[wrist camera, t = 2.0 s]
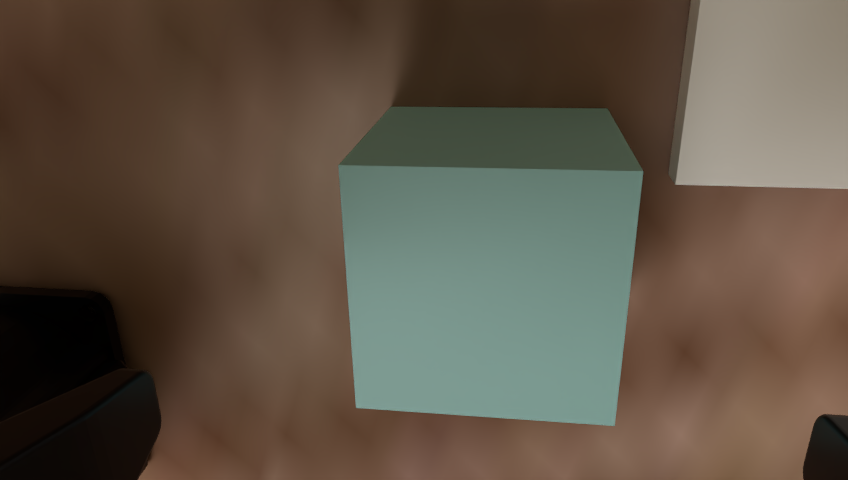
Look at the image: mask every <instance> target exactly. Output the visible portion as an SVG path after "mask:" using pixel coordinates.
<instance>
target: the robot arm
mask: <svg viewBox="0 0 848 480" xmlns="http://www.w3.org/2000/svg"><path fill="white" fill-rule="evenodd" d="M88 306H90V307H92V308H93V309H94V310H95V312H96V314H95V313H93V312H92V311H90V309H89V307H88ZM160 428H161V413H160V409H159V404H158V399H157V394H156V390H155V385H154V380H153V377H152V375H151V374H150V373H149V372H148V371H146V370H140V369H127V367H126V364H125V360H124V356H123V351H122V347H121V343H120V338H119V334H118V330H117V325H116V321H115V317H114V312H113V308H112V305H111V303H110V301H109V300H108V299H107V298H106V297H105V296H104V295H102V294H101V293H99V292H95V291H84V290H64V289H45V288H25V287H5V286H0V480H138V478H139V476H140V475H141V474H142V472H143V471H144V470H145V468H146V466H147V458H148V456H149V454H150V452H151V450H152V448H153V445H154V443H155V441H156V439H157V437H158V434H159V431H160ZM803 479H804V480H848V416H845V415H830V414H823V415H821V416H819V417H818V418H817V420H816V421H815V423H814V426H813V430H812V434H811V438H810V442H809V446H808V449H807V453H806V457H805V461H804V466H803Z"/></svg>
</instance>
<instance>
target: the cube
mask: <svg viewBox="0 0 848 480" xmlns="http://www.w3.org/2000/svg"><path fill="white" fill-rule="evenodd" d="M338 167H339V180H340V194H341V208H342V222H343V235H344V249H345V263H346V276H347V290H348V304H349V318H350V331H351V345H352V359H353V372H354V386H355V400H356V408H366V409H380V410H394V411H409V412H423V413H437V414H451V415H466V416H480V417H494V418H509V419H523V420H537V421H552V422H566V423H580V424H594V425H609V426H615V418H616V409H617V400H618V392H619V383H620V374H621V365H622V356H623V347H624V338H625V330H626V321H627V312H628V303H629V294H630V285H631V276H632V268H633V259H634V250H635V241H636V232H637V223H638V214H639V206H640V197H641V188H642V179H643V170H642V168H641V166H640V164H639V163H638V161H637V159H636V158H635V156H634V154H633V152H632V151H631V149H630V147H629V145H628V144H627V142H626V140H625V138H624V137H623V135H622V133H621V131H620V130H619V128H618V126H617V124H616V123H615V121H614V119H613V117H612V116H611V114H610V112H609V110H608V109H607V108H499V107H390V108H389V110H388V111H387V112H386V113H385V114H384V115H383V116H382V117H381V118H380V120H379V121H378V122H377V123H376V124H375V125H374V126H373V127H372V128H371V130H370V131H369V132H368V133H367V134H366V135H365V136H364V137H363V138H362V140H361V141H360V142H359V143H358V144H357V145H356V146H355V147H354V148H353V150H352V151H351V152H350V153H349V154H348V155H347V156H346V157H345V158H344V160H343V161H342V162H341V163H340V164H339V165H338Z"/></svg>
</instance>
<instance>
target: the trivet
mask: <svg viewBox="0 0 848 480" xmlns="http://www.w3.org/2000/svg"><path fill="white" fill-rule="evenodd" d="M668 174H669V176H670V177H671V179H672V180H673V182H674V183H675V185H708V186H749V187H791V188H832V189H848V0H691V3H690V11H689V18H688V26H687V34H686V41H685V49H684V57H683V64H682V72H681V80H680V87H679V95H678V103H677V110H676V118H675V126H674V133H673V141H672V149H671V156H670V164H669V172H668Z"/></svg>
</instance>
